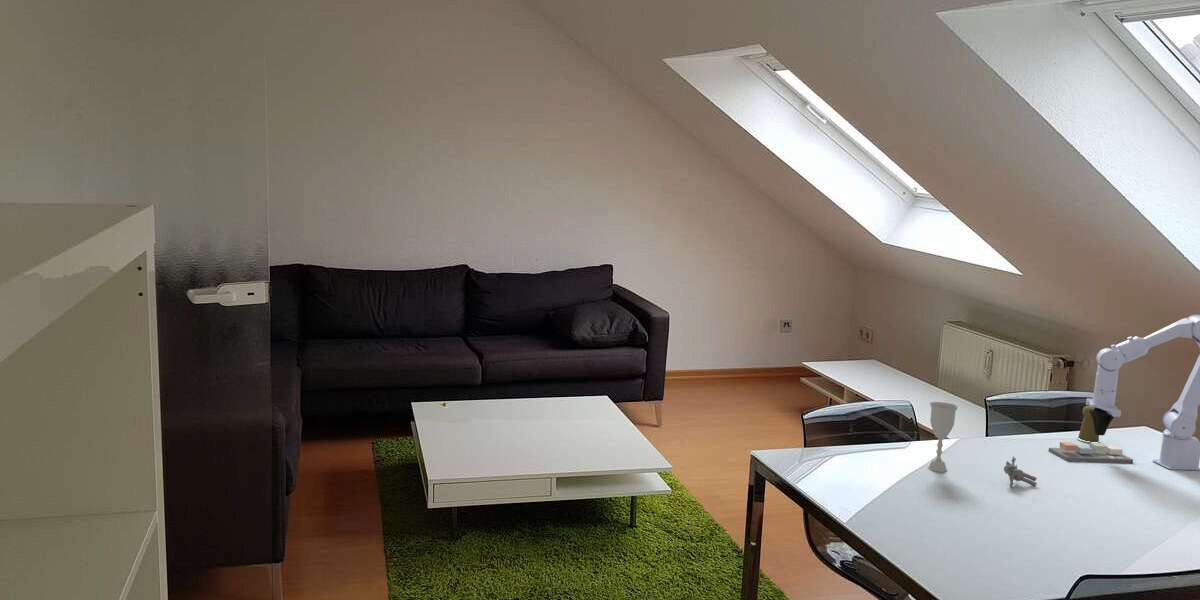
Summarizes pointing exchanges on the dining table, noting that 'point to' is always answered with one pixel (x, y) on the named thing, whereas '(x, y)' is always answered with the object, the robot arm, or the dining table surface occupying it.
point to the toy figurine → (1018, 474)
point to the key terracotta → (1068, 446)
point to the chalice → (941, 429)
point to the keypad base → (1090, 456)
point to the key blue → (1084, 449)
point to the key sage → (1098, 447)
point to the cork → (1088, 426)
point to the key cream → (1114, 450)
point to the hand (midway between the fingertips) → (1099, 434)
